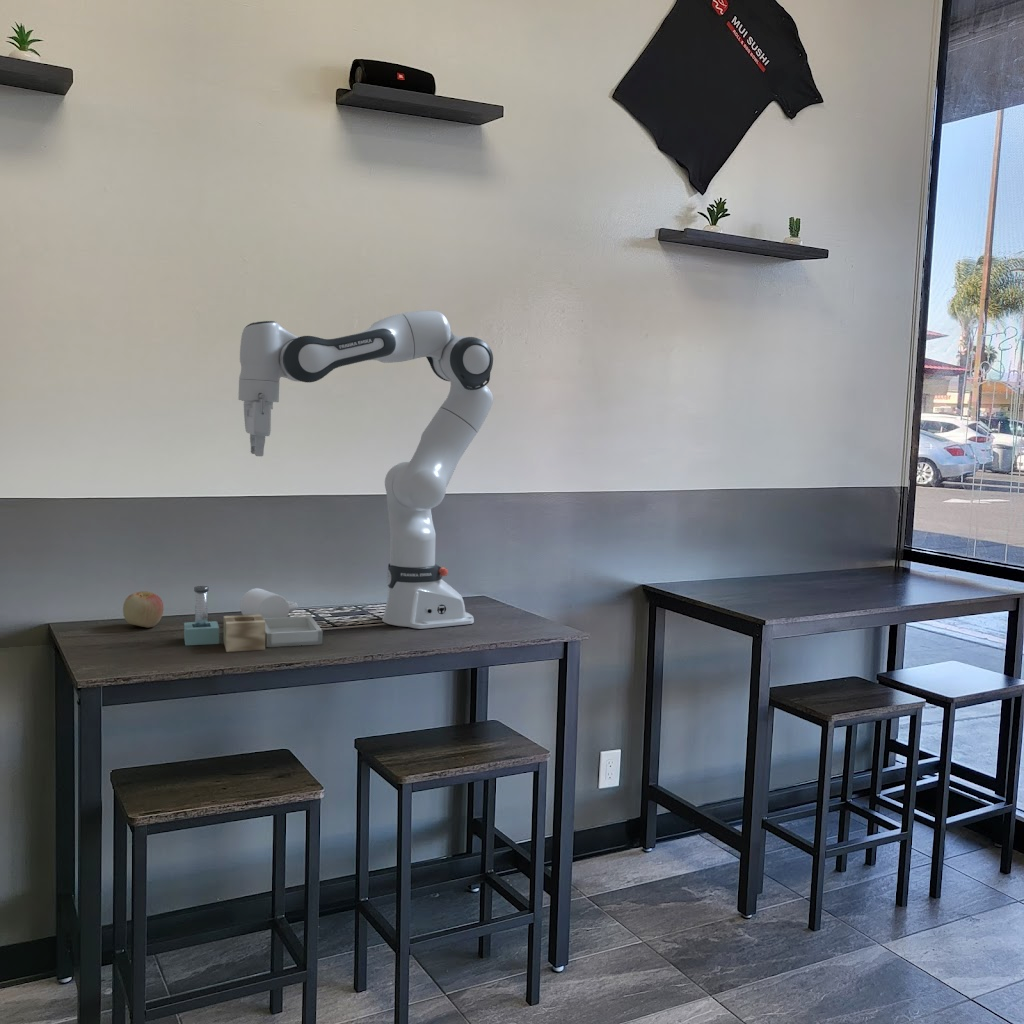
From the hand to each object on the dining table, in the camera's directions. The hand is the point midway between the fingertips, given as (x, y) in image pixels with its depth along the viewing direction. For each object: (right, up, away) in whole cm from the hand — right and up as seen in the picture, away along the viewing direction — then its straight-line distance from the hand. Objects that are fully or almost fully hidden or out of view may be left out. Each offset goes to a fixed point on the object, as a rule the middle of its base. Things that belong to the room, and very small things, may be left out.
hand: (256, 455), depth 225 cm
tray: (+8, -41, 0) cm, 42 cm away
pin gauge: (-11, -41, -6) cm, 43 cm away
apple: (-28, -40, +6) cm, 49 cm away
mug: (0, -40, +14) cm, 42 cm away
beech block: (0, -42, -10) cm, 43 cm away
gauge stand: (-11, -41, -6) cm, 43 cm away
